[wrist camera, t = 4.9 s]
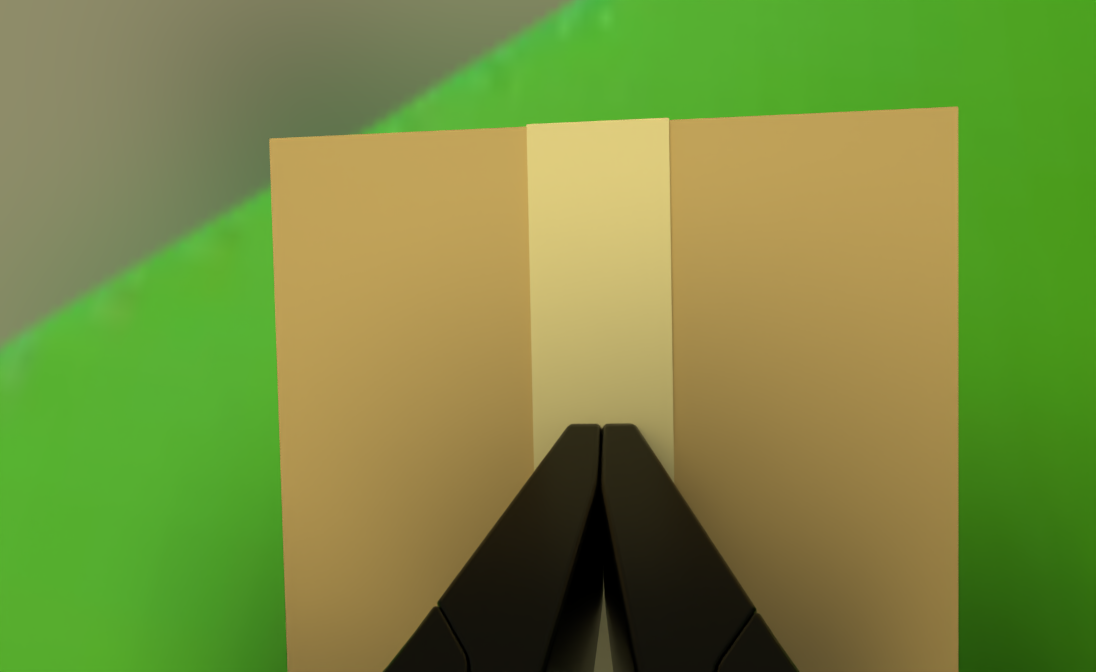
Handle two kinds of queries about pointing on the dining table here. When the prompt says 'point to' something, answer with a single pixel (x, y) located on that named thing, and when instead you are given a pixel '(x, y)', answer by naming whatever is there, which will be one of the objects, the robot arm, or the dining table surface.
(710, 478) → the flap
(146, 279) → the dining table surface
